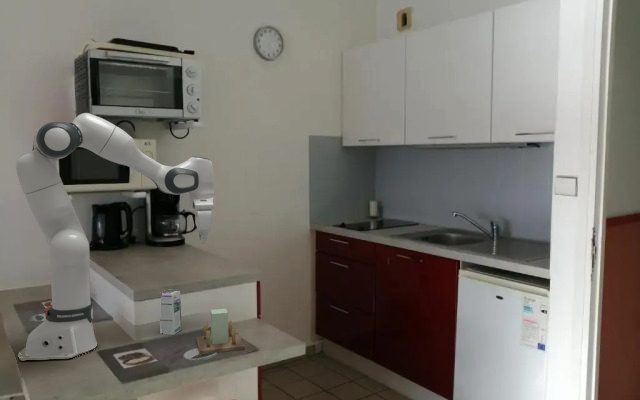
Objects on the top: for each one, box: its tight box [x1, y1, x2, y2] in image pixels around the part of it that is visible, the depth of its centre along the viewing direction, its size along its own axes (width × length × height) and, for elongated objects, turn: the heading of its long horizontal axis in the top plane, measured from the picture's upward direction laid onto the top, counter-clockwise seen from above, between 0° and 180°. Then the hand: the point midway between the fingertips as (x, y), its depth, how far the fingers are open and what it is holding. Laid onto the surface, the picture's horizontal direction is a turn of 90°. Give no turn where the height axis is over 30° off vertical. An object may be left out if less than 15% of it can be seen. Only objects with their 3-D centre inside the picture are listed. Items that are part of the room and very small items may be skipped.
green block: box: [210, 308, 229, 345], centre depth 173 cm, size 5×5×10 cm
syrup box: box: [160, 290, 183, 336], centre depth 186 cm, size 6×6×14 cm
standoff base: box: [195, 320, 246, 355], centre depth 173 cm, size 14×14×6 cm
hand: (203, 241), depth 189 cm, fingers open, 8 cm apart
